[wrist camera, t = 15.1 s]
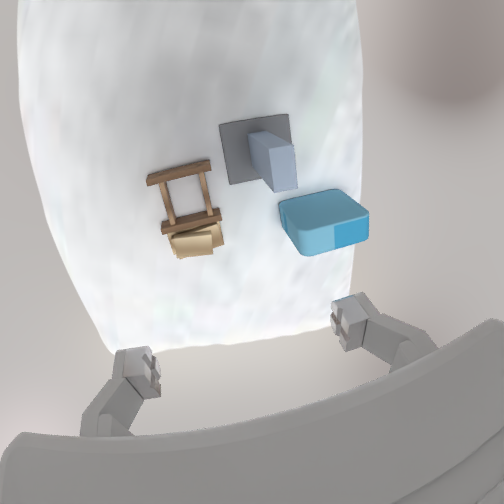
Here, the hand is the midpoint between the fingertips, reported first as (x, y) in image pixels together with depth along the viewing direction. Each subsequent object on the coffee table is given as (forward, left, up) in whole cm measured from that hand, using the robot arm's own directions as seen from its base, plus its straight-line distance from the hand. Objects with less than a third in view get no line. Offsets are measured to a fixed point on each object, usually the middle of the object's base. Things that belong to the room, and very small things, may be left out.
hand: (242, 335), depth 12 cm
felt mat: (+1, +9, -37) cm, 38 cm away
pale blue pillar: (+1, +9, -36) cm, 38 cm away
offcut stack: (+13, -4, -37) cm, 40 cm away
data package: (+13, +17, -37) cm, 43 cm away
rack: (+6, -4, -37) cm, 38 cm away
